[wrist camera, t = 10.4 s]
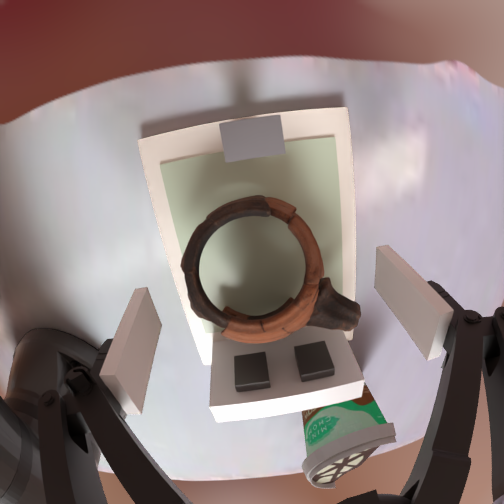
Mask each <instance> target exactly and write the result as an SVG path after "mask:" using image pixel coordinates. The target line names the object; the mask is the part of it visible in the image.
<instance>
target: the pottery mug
mask: <svg viewBox="0 0 504 504" xmlns="http://www.w3.org/2000/svg"><path fill="white" fill-rule="evenodd" d="M296 210H297V209H296V207H294V206H293V205H291V204H289V203H287V202H285V201H283V200H280V199H277V198H273V197H265V196H263V195H255V196H249V197H244V198H241V199H237V200H234V201H231V202H228V203H226V204H224V205H222V206H220V207H218V208H217V209H215V210H214V211H212V212H211V213H210V214H208V215H207V216H206V220H204V221H203V223H201V224H199V225H198V226H197V227H196V229H195V230H194V232H193V233H192V235H191V237H190V240H189V242H188V244H187V247H186V249H185V252H184V254H183V257H182V260H181V265H180V267H181V268H182V271H183V273H184V274H185V276H184V277H185V282H186V286H187V291H188V293H187V295H188V299H189V301H190V307H191V309H192V310H193V311H194V313H195V314H196V315H197V316H198V317H199V318H203V319H205V320H207V321H211V322H212V323H214V324H215V325H217V326H219V327H221V328H224V330H222V331H221V335H223V336H225V337H227V338H229V339H231V340H234V341H238V342H243V343H253V344H258V343H267V342H273V341H276V340H279V339H283V338H286V337H287V336H289V335H290V334H292V333H294V332H295V331H297V330H299V329H301V328H303V327H305V326H314V327H320V328H326V329H330V330H343V331H345V332H347V331H351V330H352V329H354V328H355V327H356V326H357V325H358V321H359V318H360V317H361V311H360V305H359V304H358V303H356V302H354V301H352V300H350V299H348V298H347V297H345V296H343V295H341V294H340V293H338V292H337V291H336V290H335V289H334V288H333V286H332V284H331V280H330V278H329V277H325V278H323V277H324V266H323V260H322V257H321V252H320V249H319V246H318V244H317V241H316V239H315V237H314V236H313V233H312V231H311V229H310V228H309V226H308V225H307V224H306V222H305V221H304V220H303V219H302V218H301V217H300V216H299V215H298V214H296V213H295V212H296ZM270 215H271V216H274V217H276V218H278V219H280V220H282V221H283V222H285V223H286V224H288V229H289V230H290V231H291V232H292V234H293V235H294V236H295V237H296V238H297V240H298V242H299V243H300V245H301V247H302V250H303V253H304V258H305V276H304V282H303V285H302V288H301V290H300V292H299V293H298V295H297V296H296V298H295V299H293V298H292V297H290V298H289V299H288V300H287V301H286V302H285V303H284V304H283V305H282V306H281V307H279V308H278V309H276V310H274V311H272V312H270V313H267V314H264V315H257V316H250V315H246V314H243V313H240V312H237V311H235V310H233V309H231V308H230V307H228V306H226V307H225V308H224V309H223V311H221V310H220V309H218V308H217V307H216V306H215V305H214V304H213V303H212V302H211V301H210V299H209V298H208V296H207V295H206V293H205V291H204V289H203V287H202V284H201V280H200V277H199V265H200V258H201V254H202V251H203V249H204V247H205V245H206V243H207V241H208V240H209V238H210V237H211V236H212V235H213V233H215V232H216V231H217V230H218V229H219V228H220V227H222V226H223V225H225V224H227V223H228V222H231V221H233V220H235V219H238V218H242V217H249V216H261V217H269V216H270Z"/></svg>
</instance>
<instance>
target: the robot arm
mask: <svg viewBox="0 0 504 504" xmlns="http://www.w3.org/2000/svg"><path fill="white" fill-rule="evenodd" d="M374 288H375V289H376V290H377V292H378V293H379V294H380V296H381V297H382V298H383V300H384V301H385V302H386V304H387V305H388V306H389V308H390V309H391V310H392V312H393V313H394V314H395V316H396V317H397V319H398V320H399V321H400V323H401V324H402V325H403V327H404V328H405V330H406V331H407V333H408V334H409V335H410V337H411V338H412V340H413V341H414V343H415V344H416V345H417V347H418V348H419V350H420V351H421V353H422V354H423V356H424V357H425V359H426V360H427V361H429V360H431V359H434V358H436V357H439V356H440V354H441V351H442V348H443V347H444V349H445V350H446V351H447V353H446V356H445V359H444V361H443V364H442V367H441V368H443V370H442V375H441V379H440V384H439V388H438V392H437V396H436V400H435V404H434V407H433V411H432V415H431V418H430V421H429V425H428V428H427V431H426V434H425V437H424V440H423V443H422V446H421V449H420V452H419V454H418V457H417V460H416V462H415V465H414V468H413V470H412V472H411V475H410V477H409V479H408V481H407V483H406V484H405V486H404V488H403V489H402V491H401V493H400V495H399V496H398V495H392V494H377V491H376V490H373V491H370V492H367V493H364V494H361V495H357V496H354V497H350V498H347V499H345V500H343V501H341V502H339V503H337V504H459V502H460V499H461V496H462V493H463V490H464V487H465V484H466V480H467V477H468V473H469V470H470V465H471V458H469V457H468V453H469V448H470V444H471V440H472V434H473V430H474V424H475V419H476V413H477V406H478V399H479V391H480V381H481V371H482V372H483V377H484V383H485V389H486V396H487V403H488V411H489V421H490V433H491V451H492V494H493V502H494V503H493V504H504V307H498V308H497V309H496V310H495V313H494V315H493V316H491V317H482V316H481V315H480V314H479V313H477V312H476V311H473V310H464V309H463V308H462V307H461V306H460V305H459V304H458V303H457V302H456V301H455V300H454V299H453V298H452V297H451V296H450V295H449V294H448V293H447V292H445V290H444V289H443V288H442V287H441V286H440V285H439V284H437V283H435V282H433V281H428V282H426V281H425V280H424V279H423V278H422V277H421V276H420V275H419V274H418V273H417V272H416V271H415V270H414V269H413V268H412V267H411V266H410V265H409V264H408V263H407V262H406V261H405V260H404V259H402V258H401V257H400V256H399V255H398V254H397V253H396V252H395V251H394V250H393V249H392V248H391V247H390V246H389V245H385V246H379V247H376V270H375V286H374ZM161 327H162V324H161V322H160V319H159V317H158V314H157V312H156V309H155V306H154V304H153V301H152V299H151V296H150V293H149V291H148V288H147V287H145V288H138V289H135V290H134V293H133V295H132V297H131V299H130V301H129V304H128V306H127V308H126V310H125V313H124V315H123V317H122V320H121V322H120V324H119V327H118V329H117V331H116V334H115V336H114V339H107V340H106V341H105V342H104V343H103V344H102V345H101V347H100V349H99V351H98V350H97V349H95V348H94V347H92V346H91V345H89V344H87V343H86V342H84V341H82V340H80V339H78V338H76V337H74V336H72V335H70V334H67V333H64V332H61V331H58V330H53V329H46V328H40V329H34V330H31V331H29V332H28V333H27V334H25V336H24V337H23V338H22V340H21V341H20V343H19V344H18V346H17V347H16V349H15V352H14V355H13V363H12V367H11V371H10V376H9V381H8V387H7V393H6V396H5V398H4V400H3V399H2V398H1V396H0V504H108V503H107V500H106V497H105V494H104V491H103V487H102V484H101V481H100V477H99V473H98V470H97V468H98V464H99V459H100V455H101V452H102V453H103V455H104V457H105V458H106V460H107V462H108V463H109V465H110V467H111V468H112V470H113V472H114V473H115V475H116V476H117V477H118V479H119V481H120V482H121V484H122V485H123V487H124V488H125V490H126V491H127V492H128V494H129V495H130V497H131V498H132V500H133V501H134V502H135V504H193V503H192V502H191V501H190V500H189V499H188V498H187V497H186V496H185V495H184V494H183V493H182V492H181V490H180V489H179V488H178V487H177V486H176V485H175V484H174V483H173V482H172V480H171V479H170V478H169V477H168V476H167V475H166V474H165V472H164V471H163V470H162V469H161V468H160V467H159V465H158V464H157V463H156V462H155V460H154V459H153V458H152V457H151V455H150V454H149V453H148V452H147V450H146V449H145V448H144V446H143V445H142V444H141V442H140V441H139V440H138V438H137V437H136V436H135V434H134V433H133V432H132V430H131V429H130V427H129V426H128V425H127V423H126V422H125V418H126V416H127V414H142V410H143V405H144V400H145V395H146V391H147V386H148V381H149V377H150V372H151V368H152V364H153V359H154V355H155V351H156V347H157V343H158V339H159V335H160V331H161Z"/></svg>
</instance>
